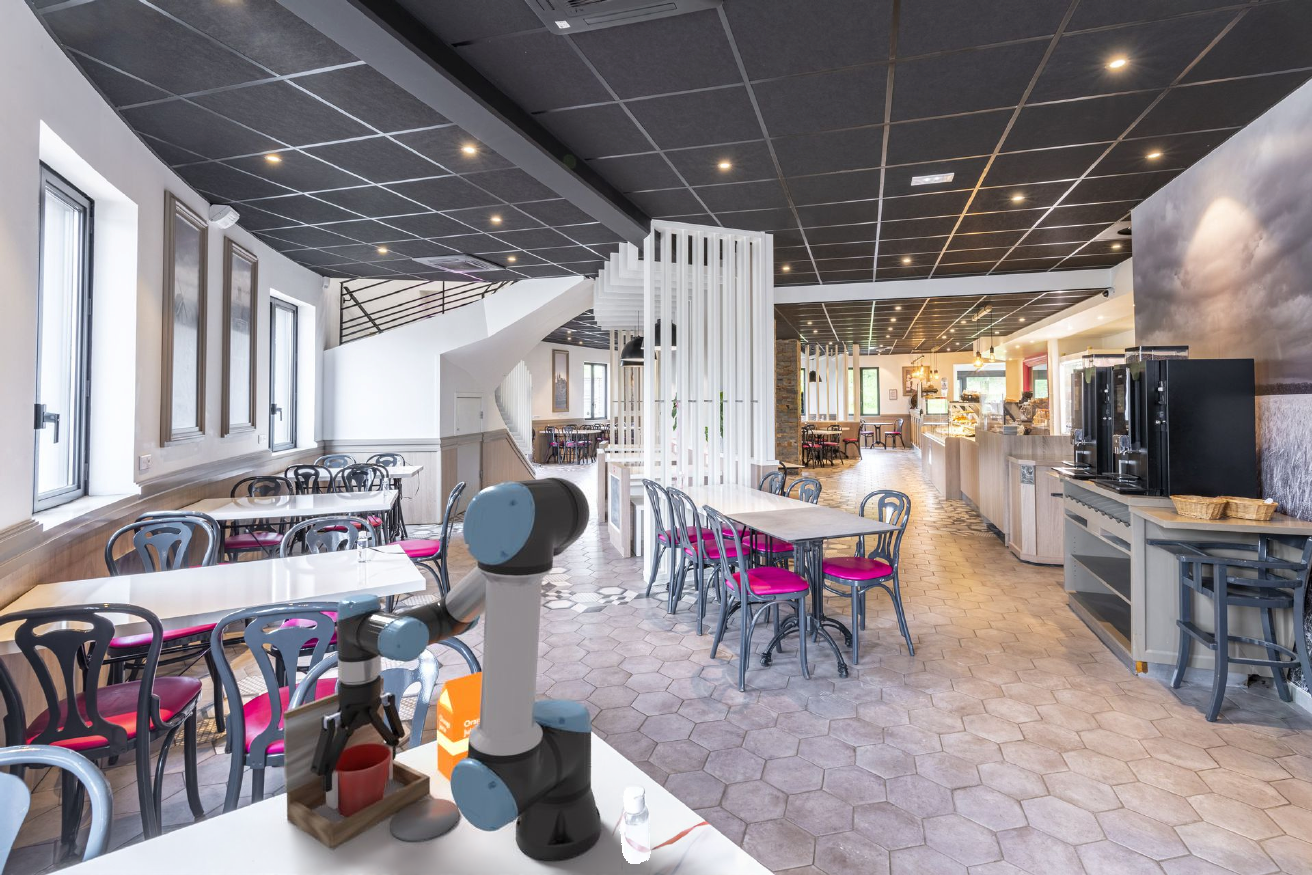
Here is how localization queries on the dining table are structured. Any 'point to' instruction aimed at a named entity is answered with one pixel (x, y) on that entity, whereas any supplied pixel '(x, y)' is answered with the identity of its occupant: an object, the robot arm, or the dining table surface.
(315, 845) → the dining table surface
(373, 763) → the flower pot
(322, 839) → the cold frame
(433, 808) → the slate saucer
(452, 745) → the orange juice
